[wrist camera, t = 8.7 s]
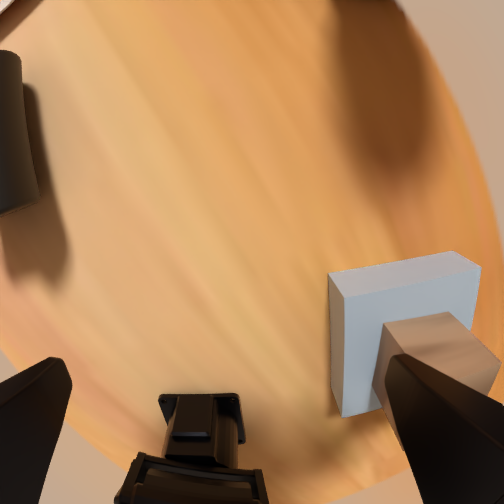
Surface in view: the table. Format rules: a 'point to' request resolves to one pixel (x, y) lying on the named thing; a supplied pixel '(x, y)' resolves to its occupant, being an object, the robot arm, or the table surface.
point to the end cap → (14, 140)
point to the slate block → (389, 314)
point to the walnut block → (435, 353)
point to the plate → (5, 4)
